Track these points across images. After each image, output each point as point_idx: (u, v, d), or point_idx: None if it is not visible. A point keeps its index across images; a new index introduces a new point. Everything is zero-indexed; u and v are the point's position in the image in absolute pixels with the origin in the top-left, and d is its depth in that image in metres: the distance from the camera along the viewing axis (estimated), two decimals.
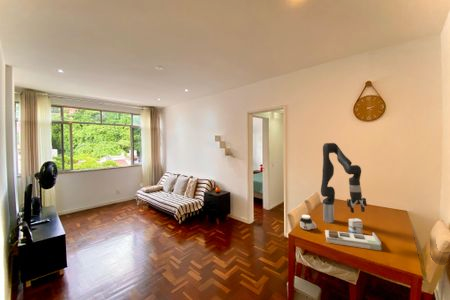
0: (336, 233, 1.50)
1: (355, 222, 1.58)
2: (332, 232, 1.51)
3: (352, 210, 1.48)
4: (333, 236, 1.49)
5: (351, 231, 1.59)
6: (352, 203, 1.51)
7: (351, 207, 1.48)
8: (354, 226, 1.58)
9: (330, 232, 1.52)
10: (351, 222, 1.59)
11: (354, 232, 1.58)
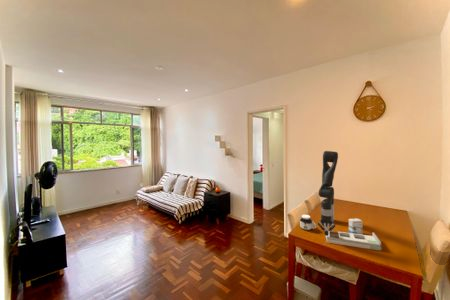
0: (337, 233, 1.49)
1: (355, 222, 1.58)
2: (333, 232, 1.51)
3: (325, 233, 1.53)
4: (334, 236, 1.49)
5: (351, 231, 1.59)
6: None
7: (324, 230, 1.53)
8: (354, 226, 1.58)
9: (331, 232, 1.51)
10: (351, 222, 1.59)
11: (354, 232, 1.58)
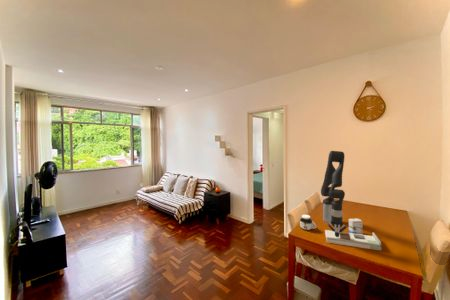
0: (348, 235, 1.46)
1: (355, 222, 1.58)
2: (344, 234, 1.48)
3: (335, 234, 1.50)
4: (345, 238, 1.46)
5: (351, 231, 1.59)
6: None
7: (335, 231, 1.50)
8: (354, 226, 1.58)
9: (341, 234, 1.48)
10: (351, 222, 1.59)
11: (354, 232, 1.58)
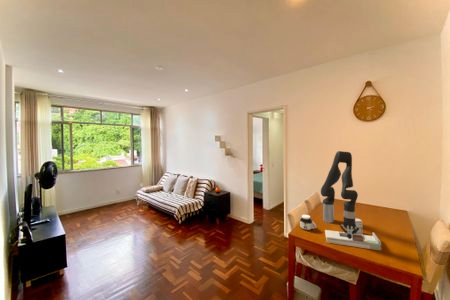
0: (361, 237, 1.43)
1: (355, 222, 1.58)
2: (357, 236, 1.44)
3: (348, 236, 1.47)
4: (358, 240, 1.42)
5: None
6: None
7: (347, 233, 1.47)
8: None
9: (354, 235, 1.45)
10: None
11: None
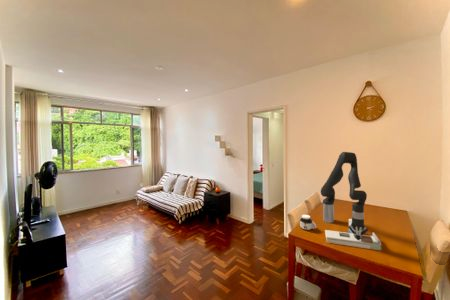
0: (370, 238, 1.41)
1: None
2: (366, 237, 1.42)
3: (356, 237, 1.45)
4: (367, 241, 1.40)
5: (351, 231, 1.59)
6: None
7: None
8: None
9: (363, 237, 1.43)
10: (351, 222, 1.59)
11: None
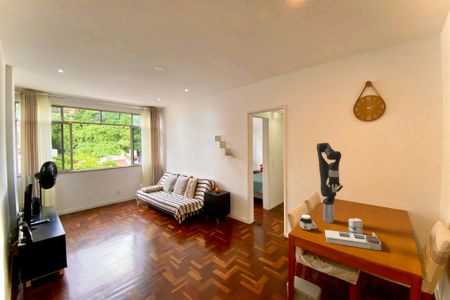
0: (375, 238, 1.40)
1: (355, 222, 1.58)
2: (371, 238, 1.41)
3: (333, 194, 1.59)
4: (372, 242, 1.39)
5: (351, 231, 1.59)
6: None
7: (332, 191, 1.59)
8: (354, 226, 1.58)
9: (368, 237, 1.42)
10: (351, 222, 1.59)
11: (354, 232, 1.58)
